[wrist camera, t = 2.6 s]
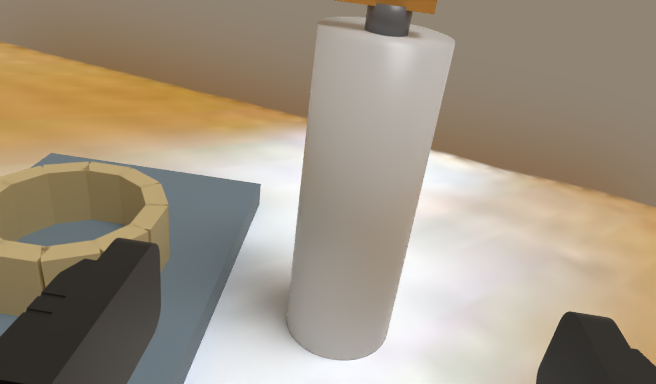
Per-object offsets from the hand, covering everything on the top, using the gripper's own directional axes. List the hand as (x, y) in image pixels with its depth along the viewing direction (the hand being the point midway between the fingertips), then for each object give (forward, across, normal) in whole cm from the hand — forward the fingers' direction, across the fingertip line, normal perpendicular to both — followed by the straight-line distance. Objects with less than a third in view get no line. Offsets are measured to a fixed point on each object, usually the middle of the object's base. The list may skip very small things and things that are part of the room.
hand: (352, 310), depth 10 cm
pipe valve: (+12, 0, +10) cm, 16 cm away
